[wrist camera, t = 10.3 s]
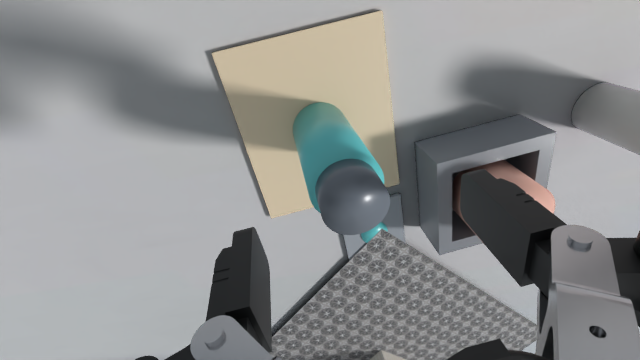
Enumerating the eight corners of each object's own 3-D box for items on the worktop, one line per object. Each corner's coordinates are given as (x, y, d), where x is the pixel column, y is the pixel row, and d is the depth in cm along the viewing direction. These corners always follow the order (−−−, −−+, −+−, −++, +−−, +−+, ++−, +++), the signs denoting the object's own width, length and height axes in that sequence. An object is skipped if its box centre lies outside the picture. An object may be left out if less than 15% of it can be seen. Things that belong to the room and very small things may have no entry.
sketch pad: (212, 52, 19) (211, 53, 19) (380, 10, 19) (382, 10, 19) (271, 216, 25) (271, 218, 25) (398, 182, 25) (399, 184, 25)
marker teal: (286, 110, 21) (305, 183, 13) (341, 96, 21) (392, 159, 13) (299, 159, 23) (323, 249, 15) (350, 146, 23) (400, 227, 15)
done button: (448, 167, 23) (481, 198, 20) (516, 149, 23) (561, 176, 20) (448, 222, 26) (478, 258, 22) (510, 205, 26) (548, 239, 22)
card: (337, 209, 26) (338, 212, 25) (399, 192, 26) (401, 195, 26) (349, 263, 29) (350, 267, 29) (404, 248, 29) (406, 251, 29)
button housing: (414, 142, 24) (437, 163, 21) (519, 114, 24) (556, 131, 21) (420, 226, 28) (439, 255, 25) (509, 202, 28) (539, 227, 25)
